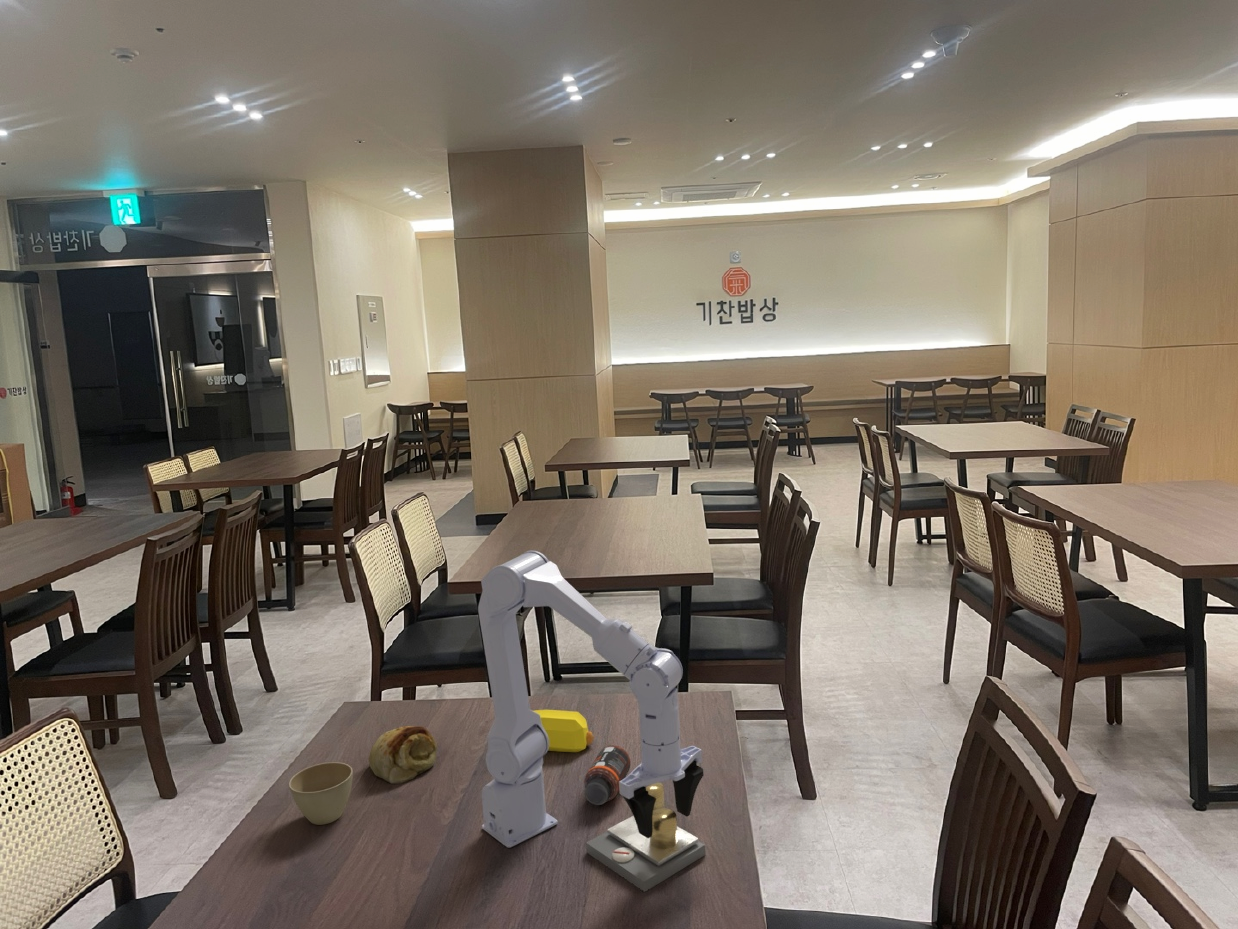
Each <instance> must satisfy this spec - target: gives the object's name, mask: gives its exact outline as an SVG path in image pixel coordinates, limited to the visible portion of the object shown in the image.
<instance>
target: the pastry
mask: <svg viewBox="0 0 1238 929" xmlns="http://www.w3.org/2000/svg"><path fill="white" fill-rule="evenodd" d="M437 749H438V745H437V741H436V739H435V737H434V736H433V735H432V733H431V732H430V731H429V730H428V729H427V728H425V727H424V726H421V725H404V726H400V727H397V728H394V729H391V730H388V731H385V732H384V733H383V734H381V735H380V736H379V737H378V738H377V739H376V741H375V742H374V744H373V746H372V748H371V750H370V751H369V756H368V764H369V767H370V769H371V770H372V772H373V774H374V776H376V777H377V778H379V779H382V780H384V781H385V782H387V783H390V784H391V785H392V784H403V783H405V782H408V781H411V780H413V779H415V778H416V777H417V776H419V775H420V774H423V773H425V772H426V771H427V770H430V769H431V768H432V767H433V766H434V764H435V763H436V760H437Z"/></svg>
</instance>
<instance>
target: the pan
mask: <svg viewBox="0 0 1238 929" xmlns="http://www.w3.org/2000/svg"><path fill="white" fill-rule="evenodd" d="M606 832H607V833H608V834H609V835H611V836H612V837H614V838H616V839H617V840H619V841H620V842H622V843H623V844H625V845H627V846H628V847H630V848H631V849H633V850H634V851H636V852H637V853H639V854H641V855H642V856H644V857H645V858H647V859H648V860H650V861H652V862H653V863H655V864H656V865H658V866H659V865H661V864H663V863H664V862H666V861H668V860H669V859H671V858H673V857H674V856H676V855H678V854H679V853H681V852H683V851H685V850H686V849H688V848H690V847H691V846H693V845H695V844H696V843H698V842H700V840H699V838H698V837H697V836H695V835H693V834H692V833H690V832H688V831H687V830H684V829H683V828H681V827H680V826H678V825H677V844H676V845H675V846H674V847H672V848H669V849H658V848H655V847H654V846H652V845H651V843H650V838H646V837H645V836H643V835H641V834H640V833H639V831H638V827H637V824H636V821H635V818H634V816H633V815H632V816H630V817H628V818H626V819H624V820H623V821H620V822H618V823H617V824H615V825H612V826H611V827H609V828H607V829H606Z"/></svg>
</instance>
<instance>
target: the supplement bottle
mask: <svg viewBox="0 0 1238 929" xmlns="http://www.w3.org/2000/svg"><path fill="white" fill-rule="evenodd" d="M631 764H632V763H631V758H630V755H629V754H628V752H627V751H626V750H625V749H624V748H623V747H620V746H618V745H615V744H613V745H611V744H610V745H606V746H604V747H603V748H601V749H600V751H599V752H598V754H597V756H596V757H595V760H593V763H592V764H591V765H590V768H589V769H588V771H587V773H586V775H584V776H585V777H584V781H583V782H584V783H583V785H584V796H585V797H586V799H587V801H589V803H590V804H592V805H596V806H600V805H601V806H602V805H604V804H605V803H606V802H609V801H611V800H613V799H614V798H615V797H616V796H617V794H618V793H619V792H620V790H619V781H621V780H623V779H624V778H626V777H627V776H628V774H629V772H630V768H631Z"/></svg>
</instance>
